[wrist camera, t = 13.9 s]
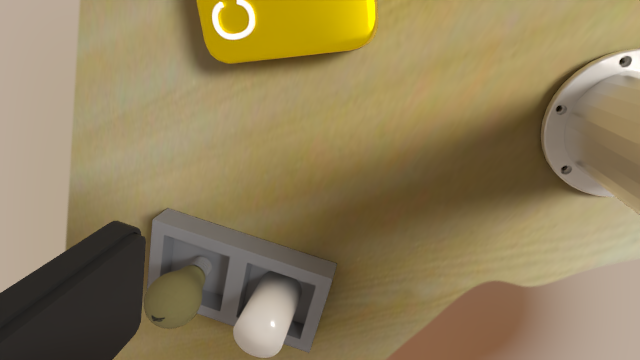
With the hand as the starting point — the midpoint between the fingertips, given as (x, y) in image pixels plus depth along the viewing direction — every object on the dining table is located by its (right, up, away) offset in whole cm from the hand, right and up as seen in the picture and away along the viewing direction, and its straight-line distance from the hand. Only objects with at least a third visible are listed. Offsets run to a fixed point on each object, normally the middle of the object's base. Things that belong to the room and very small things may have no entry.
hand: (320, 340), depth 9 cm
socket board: (-9, -8, +38) cm, 40 cm away
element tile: (-3, +23, +25) cm, 34 cm away
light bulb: (-14, -6, +38) cm, 41 cm away
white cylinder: (-5, -9, +37) cm, 38 cm away
